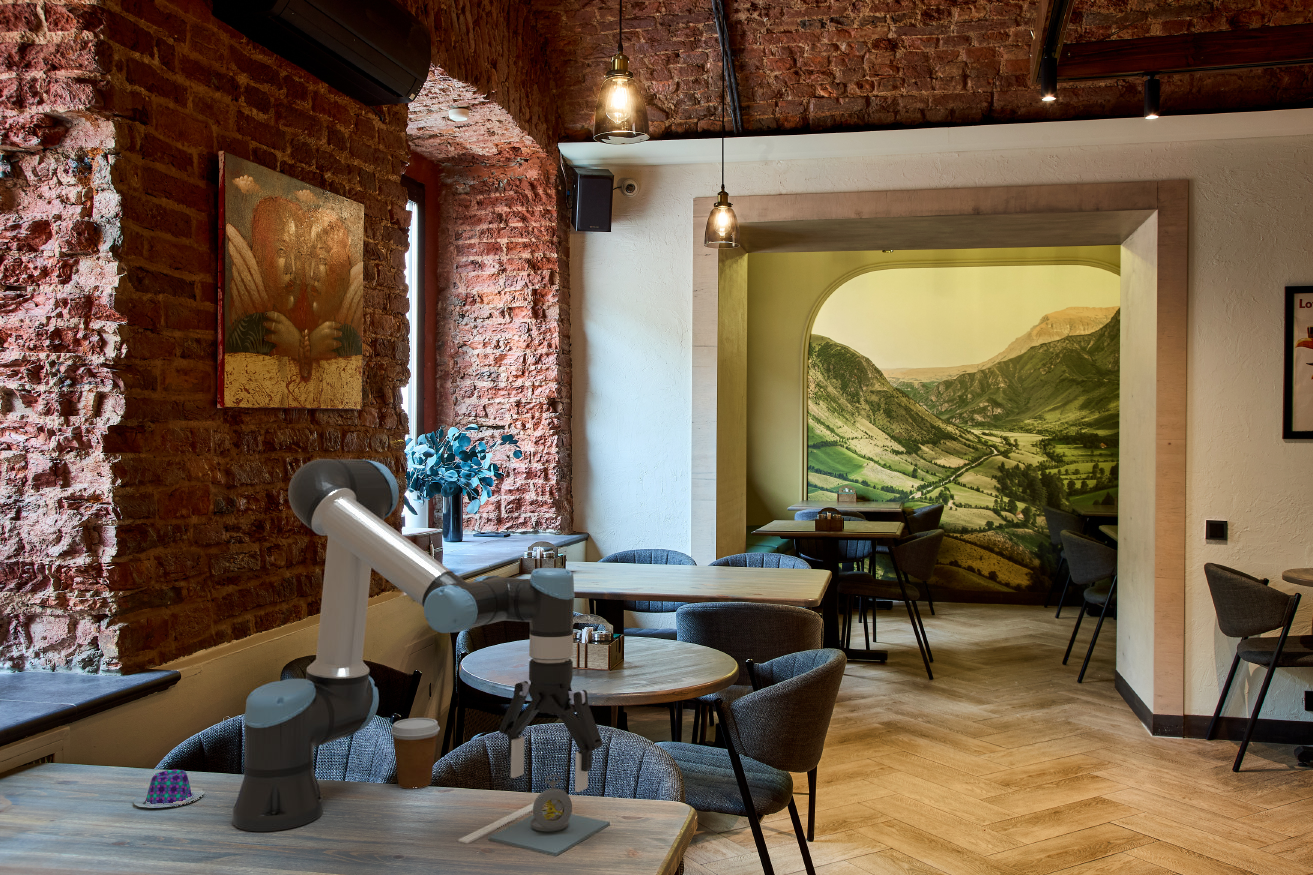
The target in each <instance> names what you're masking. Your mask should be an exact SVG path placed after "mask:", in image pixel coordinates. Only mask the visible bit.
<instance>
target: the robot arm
mask: <svg viewBox="0 0 1313 875" xmlns="http://www.w3.org/2000/svg"><path fill="white" fill-rule="evenodd" d="M399 492H400V491H399V485H398V482H397V479H396V477H395V475H394V474H393V473H392V472H391V470H390V469H389V468H388V467H387V466H386V465H384V464H383V463H380V462H378V461H374V460H367V459H364V458H363V459H359V458H357V459H355V458H354V459H353V458H351V459H348V458H347V459H342V458H341V459H336V458H335V459H331V458H319V459H313V460H311V461H308V462H307V463H305V464H303V465H302V466H300V467H299V469H298V470H296V471H295V473H294V474H293V476H292V477H291V479H290V482H289V485H288V492H287V495H288V496H287V497H288V502H289V505H290V508H291V509H292V511H293V513H294V515H295V516H296V518H298V519H299V521H300V522H301V523H302V524H303V525H305V526H306V527H307V528H309V529H310V530H312V531H313V532H314V533H315V534H316V535H319V536H327V544H326V554H325V564H324V575H323V585H322V594H321V605H320V606H321V607H320V616H319V626H318V627H319V628H318V633H317V634H318V637H317V646H316V656H315V657H316V658H315V660H314V661H312V663H310V664H309V665H308V666H307V667H306V672H305V673H306V674H305V678H288V679H287V678H286V679H283V680H276V681H273V682H268V683H266V684H263V685H261V686H259V687H257V688H254V690H252V691H251V692H250V694H249V695H248V696H247V698H246V700H245V701H246V702H245V703H246V704H245V712H244V716H243V721H244V763H243V764H244V766H243V770H244V772H243V773H244V774H243V775H244V776H243V780H242V783H241V786H240V788H239V792H238V796H237V798H236V803H235V804H234V806H233V809H232V825H233V826H234V827H235V828H237V829H240V830H244V831H249V832H276V831H281V830H282V831H283V830H288V829H293V828H297V827H301V826H304V825H307V824H309V823H311V822H314V821H315V820H317V819H319V818H320V817H321V816H322V815H323V813H324V799H323V795H322V792H321V788H320V786H319V783H318V780H317V777H316V773H315V771H314V769H315V768H314V761H315V760H314V757H315V754H314V752H315V751H314V749H315V748H317V747H319V746H322V745H325V744H328V743H330V742H331V743H332V742H334V741H337V740H340V739H345V738H349V737H351V736H353V735H354V734H356V733H358V732H360V731H362V730H364V729H365V728H366V727H368V726H369V725H370V723H371V722H372V721H373V719H374V717H375V716H376V713H377V712H378V711H377V710H378V709H379V708H378V707H379V701H380V698H379V697H380V696H379V689H378V687H377V686H376V685H375V681H374V679H373V678H372V677H371V676H370V668H369V666H368V665H366V663H365V662H364V660H363V656H364V646H365V638H366V637H365V636H366V624H367V617H368V607H369V606H368V605H369V604H368V603H369V594H370V585H371V584H370V583H371V575H372V574H371V573H372V570H374V571H375V572H376V573H378V574H379V575H381V577H384V578H385V579H386V580H387V581H389V583H391V584H392V585H394V587H397V589H398V590H400V591H402V592H403V593H404V594H406V595H407V596H408V597H410V599H412V600H413V601H415V602H416V603H417V604H418V605H420V606H421V607H422V608H423V615H424V618H425V619H426V622H427V624H428V626H429V627H430V628H431V629H432V630H434V631H435V632H438V633H441V634H448V633H458V632H459V633H460V632H464V631H466V630H470V629H473V628H476V627H480V626H486V625H490V624H494V623H498V622H503V621H510V622H523V623H529V647H528V648H529V649H528V650H529V651H528V653H529V654H528V656H529V657H530V658H531V659H530V660H529V662H528V680H529V681H527V680H523V681H521V682H517V683H515V684H514V691H513V692H514V693H513V696H512V699H511V701H510V702H509V705H508V707H507V710H506V712H505V714H504V717H503V719H502V721H501V723H500V726H499V728H498V732H499V733H500V734H504V735H505V736H507V740H508V745H507V746H508V747H507V748H508V750H507V751H508V752H507V753H508V757H510V778H511V779H516V778H518V777H520V776H523V775H524V773H525V768H524V767H525V736H522V735H523V732H524V731H525V729H526V728H527V727H528V725H529V724H530V723H531V721H533V719H534V718H535V716H536V715H537V714H538V713H541V714H545V713H547V714H549V715H552V716H555V715H556V716H557V718H558V719H559V720H561V721H562V723H563V725H564V726H565V727H566V730H567V731H568V733H569V734H570V736H571V738H572V739H573V742H575V744H576V746H577V747H578V751H575V768H574V770H575V772H574V775H575V776H574V780H575V781H574V792H576V793H580V792H583V791H584V790H586V789H588V785H589V771H590V770H592V767H593V766H592V765H593V763H592V762H593V751H595V750H597V749H600V748H601V747H602V746H603V739H602V738H601V737H602V736H601V735H600V732H599V729H598V727H597V724H596V721H595V718H594V716H593V713H592V710H591V708H590V705H589V700H588V697H589V696H588V691H587V690H586V689H581V690H577V691H576V690H575V691H574V690H573V689H572V686H571V685H572V684H571V683H572V681H573V674H574V672H573V668H574V667H573V666H574V665H573V664H574V662H573V660H572V659H571V658H572V657H573V654H574V609H575V608H574V605H575V597H576V595H575V582H574V581H575V579H574V573H573V572H572V571H571V570H569V569H568V568H561V567H540V568H535V569H533V570H532V571H531V573H530V578H517V577H505V576H499V575H486V576H485V575H484V576H483V575H481V576H478V577H476V578H475V579H474V581H471V582H467V580H464V579H463V578H461V577H460V576H458V575H457V574H456V573H455V572H453V571H451V569H450V568H448V567H446V566H445V565H444V564H442V563H441V562H439V561H438V560H437V559H436V558H434V557H433V556H431V555H430V554H428V553H427V552H426V551H425V550H423V549H422V548H420V547H419V546H418V545H417V544H415V543H414V542H412V540H410V539H408V538H407V537H406V536H404V535H403V534H402V533H400V532H399V531H398V530H396V529H395V528H393V527H392V526H391V525H389V524H388V523H387V522H385V519H386V518H387V517H389V516H390V515H391V514H392V512H394V511H395V509H396V508H397V505H398V502H399V498H400V497H399V496H400V493H399ZM529 682H530V683H529ZM528 695H529V696H530V698H531V700H530V702H529V703H528V705H527V706H526V707H525V709H524V711H523V712H522V714H521V715H520V713H521V711H522V709H523V706H524V704H525V702H526V700H527V697H528ZM573 706H574V707H573Z"/></svg>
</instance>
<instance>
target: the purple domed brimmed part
mask: <svg viewBox="0 0 1313 875" xmlns="http://www.w3.org/2000/svg"><path fill="white" fill-rule="evenodd" d="M149 783H150V784H149V787H148V790H147V797H146V800H145V801H147V802H150V803H151V804H156V803H163V804H164V803H173V802H176V801H183V800H186V798H188V797H191V796H192V797H193V795H192V793H191V788H192V787H191V784H190V781H189V778H188V774H187V772H186V771H185V770H184V769H171V770H169V769H168V770H163V771H160V772H156V773H155V774H154V775H153V776H152V778H151V780H150V782H149ZM194 788H195V789H198V788H197V787H194ZM201 791H202V789H201ZM203 794H205V792H204V793H203ZM202 797H203V796H201V798H202ZM199 799H200V798H198V799H196V800H194V801H193V802H195V801H197V800H199ZM190 803H191V802H189V803H188V804H190ZM178 805H179V804H177V806H176V807H179V806H178ZM184 805H187V804H186V802H185V804H184ZM180 806H183V805H182V804H181V805H180Z"/></svg>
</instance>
